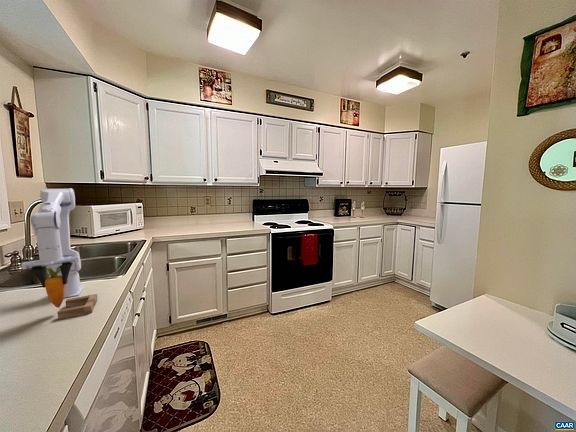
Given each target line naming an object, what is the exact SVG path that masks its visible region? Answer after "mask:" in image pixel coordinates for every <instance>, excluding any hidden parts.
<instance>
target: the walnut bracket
mask: <svg viewBox="0 0 576 432" xmlns="http://www.w3.org/2000/svg"><path fill="white" fill-rule="evenodd" d="M98 300H99V299H98V294H97V293H95V294H88V295H84V296H78V297H72V298H71V297H70V298H67V299H66V300H65V303H64V304H65V307H66V308H63V309H59V310H58V311H57V320H63V319H64V320H65V319H67V318H72V317H77V316H78V317H79V316H82V315H87V314H93V311H94V309H95V308H96V307H95V306H96V305H97V302H98Z"/></svg>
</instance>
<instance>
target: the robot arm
mask: <svg viewBox="0 0 576 432" xmlns="http://www.w3.org/2000/svg"><path fill="white" fill-rule="evenodd" d="M75 194H76V193H75V190H74V189H73V188H71V187H70V188H42V189H41V190H40V193H39V196H40V200H41V204H40V206H39V208H38V210H37V212H35V213H33V214H31V215H30V224H31V227H32V230H33V234H34V236H35V237H36V244H37V249H38V251H37V252H38V256H39V259H36V260H31V261H24V262H22V263H21V269H22V270H27V269H31V270H30V273H31V274H33V275H34V276H35V277H36V279H37V280H38V281H39V283H40V284H41V286H42V288H43V289H46V288H45V280H46V279H47V278H48V277H47V274H48V275H49V272H48V271H47V268H51V269H52V270H53V271H54V272H56V269H57V267H58V266H60V271H59V272H58V274H57V275H60V276H62V281H63V285H65V293H64V299H65V298H69V297H70V298H71V297H76V296H79V295H80V293H81V292H82V290H83V288H84V286H83V285H81V280H80V273H79V272H78V271H80V270H81V269H82V261H81V256H80V253H79V252H78V251H77V250H74V249H72V248H71V233H70V231H71V230H70V213H71V212H72V211H74V209H76V208H75V207H76V196H75Z"/></svg>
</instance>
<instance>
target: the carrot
mask: <svg viewBox="0 0 576 432" xmlns="http://www.w3.org/2000/svg"><path fill="white" fill-rule="evenodd" d="M47 271H48V272H49V274H48V277H47V279H46V280H45V288H44V289H45V291H46V294H47V297H48V299H49V301H50V302H51V304H52V305H53V306H54V307H56V308H60V307H61V305H62V304H63V301H64V299H65V298H64V293H65V285H63V281H62V276H60V275H57V274H58V272H59V271H60V266H58V267H57V269H56V272H54V271H53V270H52V269H51V268H47V267H46V272H47ZM48 272H47V273H48Z"/></svg>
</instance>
